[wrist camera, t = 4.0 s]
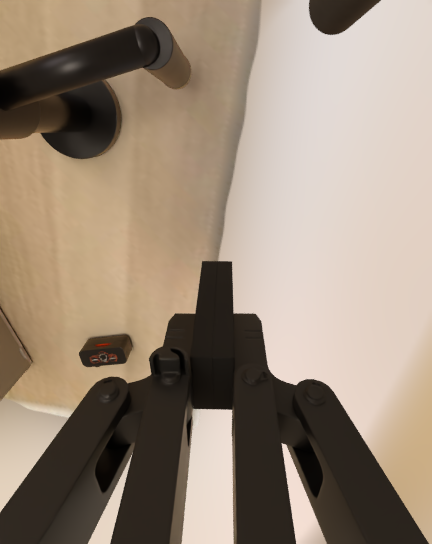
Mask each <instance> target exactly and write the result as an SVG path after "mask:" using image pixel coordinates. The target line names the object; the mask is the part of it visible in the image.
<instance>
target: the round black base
mask: <svg viewBox="0 0 432 544" xmlns="http://www.w3.org/2000/svg"><path fill="white" fill-rule="evenodd" d="M38 102H39V106H40V121H39V124H38V127H37V128H36V130H35V131H34V132H33V133H41V135H42V136H43V138H44V139H45V140H46V141H47V142H48V143H49V144H50V145H51V146H52V147H53V148H54V149H55V150H57V151H58V152H60V153H62V154H64V155H66V156H69V157H72V158H78V159H87V158H92V157H96V156H99V155H102V154H103V153H105V152H106V151H108V150H109V149H110V148H111V147H112V146H113V144H114V143H115V142H116V140H117V138H118V135H119V132H120V128H121V111H120V106H119V103H118V100H117V98H116V95H115V94H114V92H113V90H112V89H111V87H110V86H109V84H108V83H107V82H106V81H105V80H102V81H98V82H95V83H92V84H89V85H86V86H83V87H80V88H77V89H73V90H70V91H67V92H64V93H61V94H58V95H55V96H51V97H48V98H45V99H42V100H39V101H38Z"/></svg>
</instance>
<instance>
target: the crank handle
mask: <svg viewBox="0 0 432 544" xmlns="http://www.w3.org/2000/svg"><path fill="white" fill-rule="evenodd" d="M142 67H143V68H144V69H145V70H147V71H148V72H150V73H151V74H152V75H154V76H155V77H156V78H158V79H159V80H161V81H162V82H163V83H164V84H165V85H166V86H168V87H169V88H172V89H181V88H183V87H185V86H186V85H187V84H188V82H189V81H190V78H191V66H190V63H189V61H188V59H187V58H186V57H185V56H184V54H183V52H182V51H181V49H180V47H179V46H178V44H177V42H176V41H175V39H174V37H173V35H172V34H171V32H170V30H169V29H168V27H167V26H166V25H165V24H164V23H163V22H162V21H160V20H159V19H156V18H153V17H146V18H143V19H141V20H139V21H138V22H137V23H136V24H135V25H133V26H130V27H127V28H124V29H121V30H118V31H115V32H112V33H109V34H107V35H104V36H101V37H98V38H95V39H92V40H89V41H86V42H83V43H80V44H77V45H74V46H71V47H68V48H65V49H62V50H59V51H56V52H54V53H51V54H48V55H45V56H42V57H39V58H36V59H33V60H30V61H27V62H24V63H21V64H18V65H15V66H12V67H9V68H6V69H3V70H1V71H0V139H21V138H25V137H28V136H30V135H31V134H32V133H33V132H34V131H35V130H36V128H37V127H38V124H39V121H40V106H39V102H38V101H39V100H42V99H45V98H48V97H51V96H55V95H58V94H61V93H64V92H67V91H70V90H73V89H77V88H80V87H83V86H86V85H89V84H92V83H95V82H98V81H102V80H105V79H108V78H111V77H114V76H117V75H120V74H123V73H127V72H130V71H133V70H136V69H139V68H142Z"/></svg>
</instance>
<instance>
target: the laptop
mask: <svg viewBox="0 0 432 544" xmlns="http://www.w3.org/2000/svg"><path fill="white" fill-rule="evenodd" d="M31 363H32V361H31V360H30V358H29V356H28V355H27V353H26V352H25V350H24V348H23V347H22V345H21V343H20V341H19V340H18V338H17V336H16V335H15V333H14V331H13V330H12V328H11V326H10V325H9V323H8V321H7V320H6V318H5V316H4V315H3V313H2V311H1V310H0V401H1V400H2V398H3V397H4V396H5V395H6V394H7V393H8V391H9V390H10V389H11V388H12V387H13V386H14V384H15V383H16V382H17V381H18V380H19V378H20V377H21V376H22V375H23V374H24V373H25V371H26V370H27V369H28V368H29V367H30V364H31Z"/></svg>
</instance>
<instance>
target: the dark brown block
mask: <svg viewBox="0 0 432 544" xmlns="http://www.w3.org/2000/svg"><path fill="white" fill-rule="evenodd" d="M131 350H132V346H131V343H130V339H129V337H128V336H127V335H122V336H112V337H102V338H92V339H89V340H87V342H86V343H85V345H84V346H83V348H82V349H81V351H80V352H79V356H80V358H81V361H82V363H83V365H84V366H86V367H93V366H94V367H100V366H103V365H114V364H124V363H126V361H127V359H128V357H129V355H130V352H131Z"/></svg>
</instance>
